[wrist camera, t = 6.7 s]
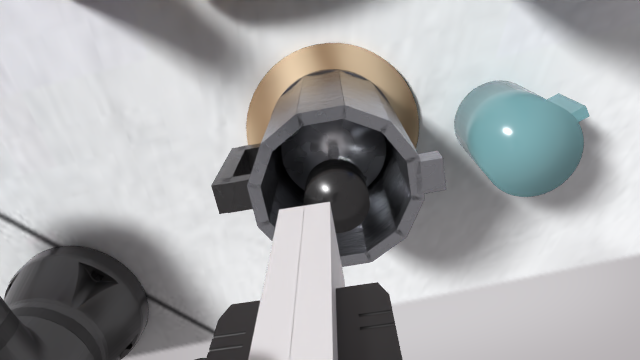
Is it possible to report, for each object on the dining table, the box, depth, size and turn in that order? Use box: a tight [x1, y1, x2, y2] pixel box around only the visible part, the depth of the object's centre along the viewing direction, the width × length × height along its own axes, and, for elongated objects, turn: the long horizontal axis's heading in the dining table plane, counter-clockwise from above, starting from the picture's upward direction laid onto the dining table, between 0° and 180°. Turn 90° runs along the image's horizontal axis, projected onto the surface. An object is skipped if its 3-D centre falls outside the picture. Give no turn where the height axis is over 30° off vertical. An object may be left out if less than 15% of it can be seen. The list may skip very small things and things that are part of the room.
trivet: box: [246, 43, 419, 149], centre depth 49 cm, size 17×17×1 cm
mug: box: [454, 81, 589, 197], centre depth 44 cm, size 10×8×10 cm
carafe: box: [211, 69, 446, 267], centre depth 41 cm, size 17×12×15 cm
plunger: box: [281, 119, 386, 233], centre depth 38 cm, size 9×9×12 cm
